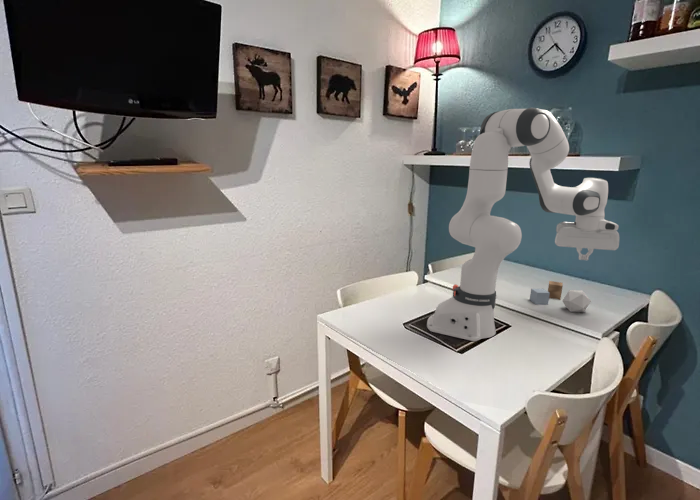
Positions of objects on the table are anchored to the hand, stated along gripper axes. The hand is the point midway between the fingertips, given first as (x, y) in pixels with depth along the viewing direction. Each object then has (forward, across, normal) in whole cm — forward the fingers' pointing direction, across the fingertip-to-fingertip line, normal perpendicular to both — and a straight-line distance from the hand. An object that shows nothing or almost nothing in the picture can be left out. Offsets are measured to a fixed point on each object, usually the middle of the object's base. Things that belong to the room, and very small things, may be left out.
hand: (583, 259), depth 145 cm
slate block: (+20, -12, +5) cm, 24 cm away
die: (+20, 0, 0) cm, 20 cm away
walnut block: (+20, -5, +14) cm, 25 cm away
